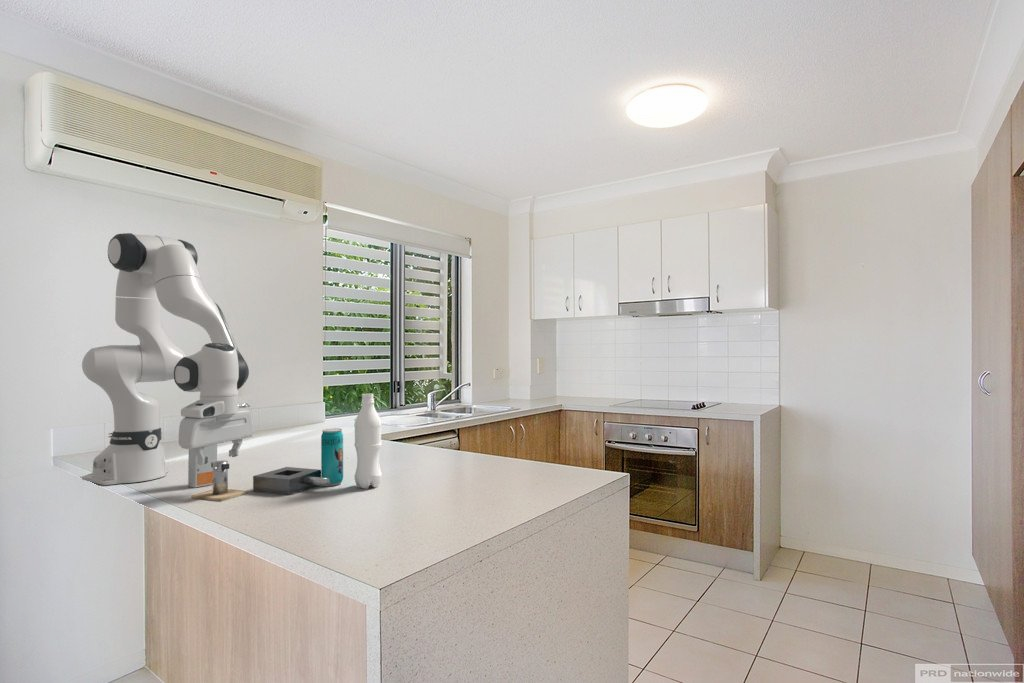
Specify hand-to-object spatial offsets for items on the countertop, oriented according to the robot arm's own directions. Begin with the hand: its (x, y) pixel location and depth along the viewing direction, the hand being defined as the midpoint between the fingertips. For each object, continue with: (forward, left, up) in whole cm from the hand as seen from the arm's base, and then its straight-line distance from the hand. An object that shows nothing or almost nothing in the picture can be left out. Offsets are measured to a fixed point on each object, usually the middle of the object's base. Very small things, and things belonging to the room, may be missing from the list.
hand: (218, 460), depth 142 cm
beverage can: (+21, +19, -9) cm, 29 cm away
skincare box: (-13, +7, -9) cm, 17 cm away
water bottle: (+32, +20, -9) cm, 38 cm away
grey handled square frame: (+15, +12, -9) cm, 21 cm away
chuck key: (+1, 0, -8) cm, 8 cm away
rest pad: (+1, 0, -9) cm, 9 cm away
